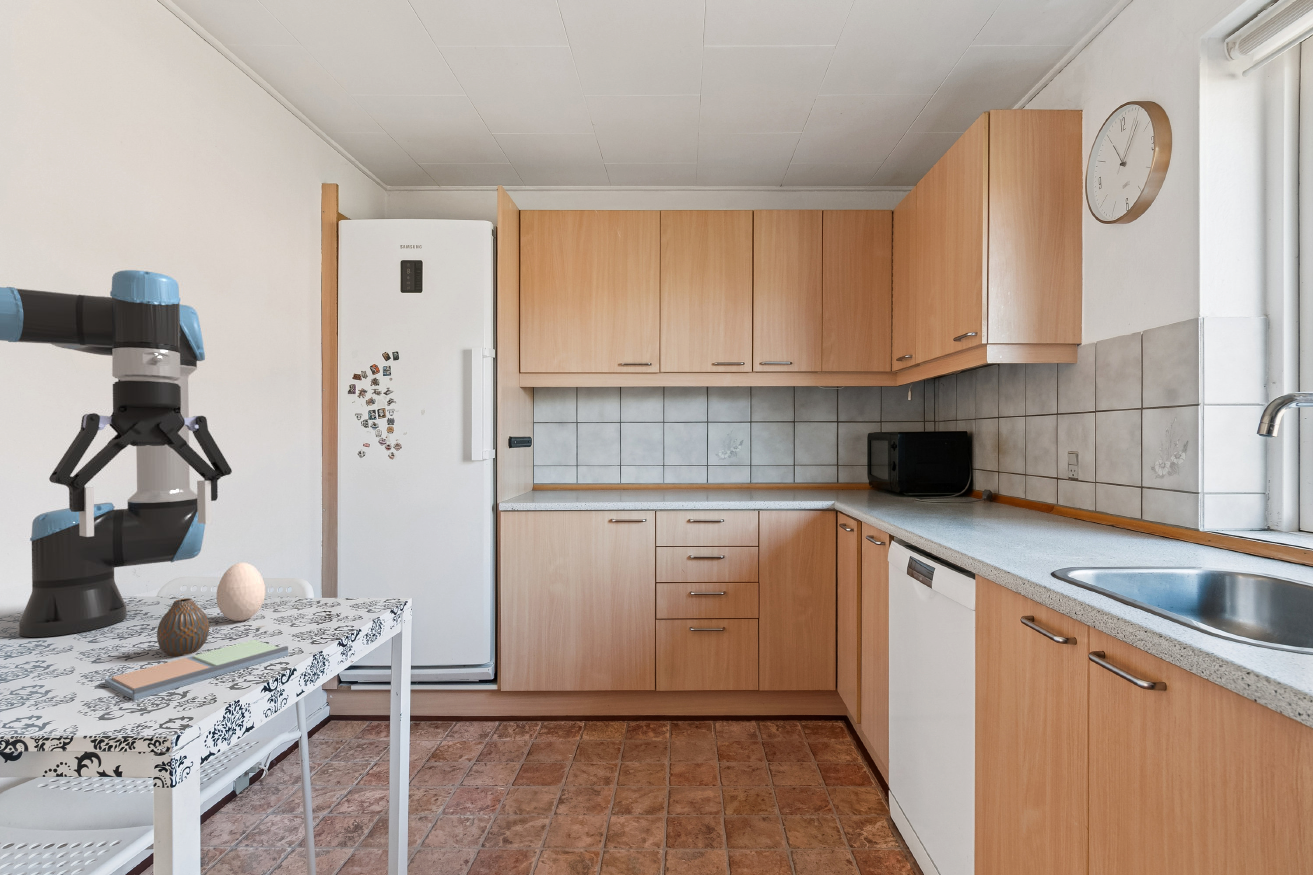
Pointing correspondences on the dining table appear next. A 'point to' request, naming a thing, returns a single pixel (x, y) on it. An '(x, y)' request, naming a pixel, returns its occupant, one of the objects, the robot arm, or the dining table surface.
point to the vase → (182, 628)
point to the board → (193, 669)
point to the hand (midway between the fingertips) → (149, 529)
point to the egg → (240, 592)
